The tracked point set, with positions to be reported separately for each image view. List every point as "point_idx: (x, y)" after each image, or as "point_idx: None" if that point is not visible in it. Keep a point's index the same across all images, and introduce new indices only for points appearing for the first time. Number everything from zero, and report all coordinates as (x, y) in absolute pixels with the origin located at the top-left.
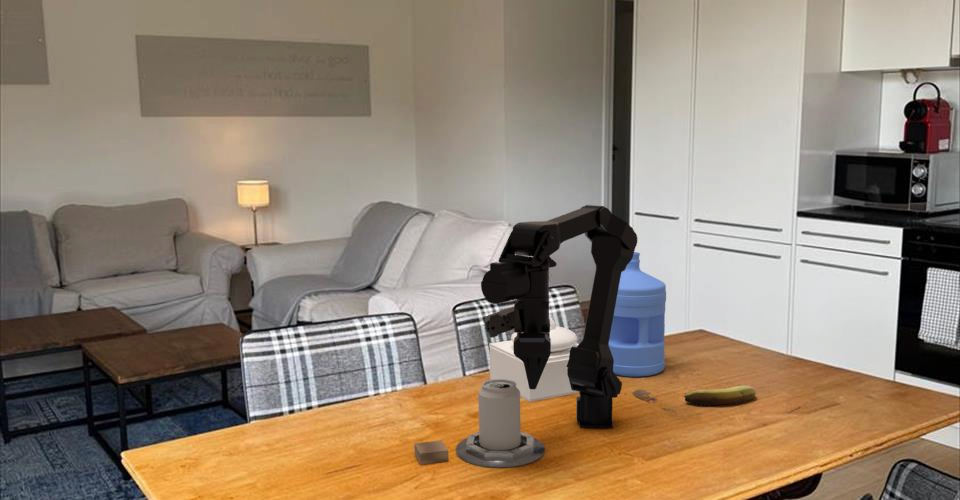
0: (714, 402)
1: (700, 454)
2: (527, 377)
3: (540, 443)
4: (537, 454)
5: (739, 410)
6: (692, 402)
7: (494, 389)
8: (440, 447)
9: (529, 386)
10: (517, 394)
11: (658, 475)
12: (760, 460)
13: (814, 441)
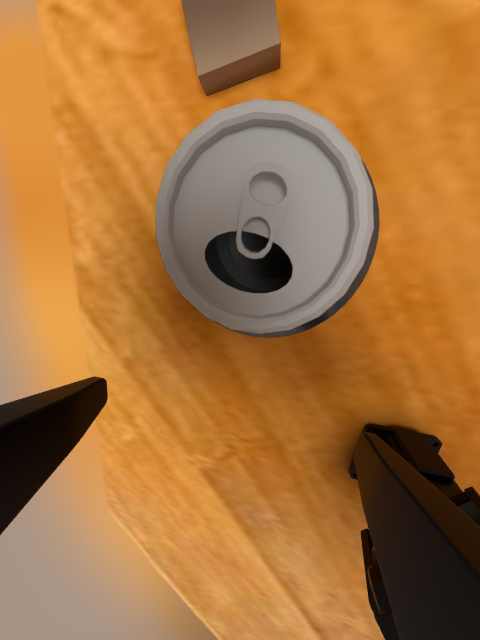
0: None
1: (219, 532)
2: (10, 404)
3: (282, 332)
4: None
5: None
6: None
7: (158, 194)
8: (220, 44)
9: (82, 382)
10: (206, 316)
11: (148, 465)
12: (196, 573)
13: (250, 636)
